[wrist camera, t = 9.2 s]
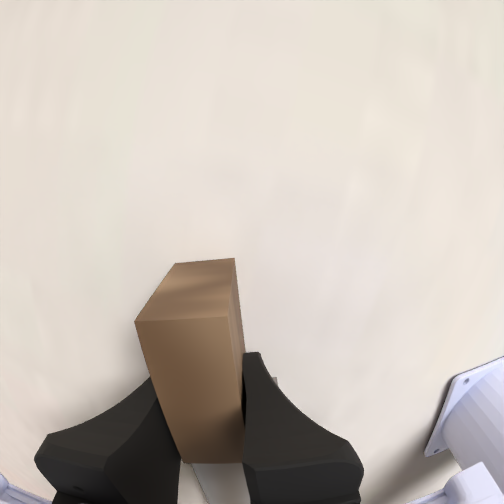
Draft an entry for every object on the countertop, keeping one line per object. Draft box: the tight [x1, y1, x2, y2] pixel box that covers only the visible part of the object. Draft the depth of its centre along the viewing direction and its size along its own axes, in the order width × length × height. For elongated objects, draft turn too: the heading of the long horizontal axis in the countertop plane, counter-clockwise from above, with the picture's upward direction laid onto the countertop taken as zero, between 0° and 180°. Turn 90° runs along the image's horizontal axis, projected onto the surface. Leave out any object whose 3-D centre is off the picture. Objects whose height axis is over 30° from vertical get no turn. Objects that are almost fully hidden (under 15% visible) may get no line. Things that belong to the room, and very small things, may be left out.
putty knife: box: [134, 258, 278, 504], centre depth 13 cm, size 5×22×5 cm, turn 5°
